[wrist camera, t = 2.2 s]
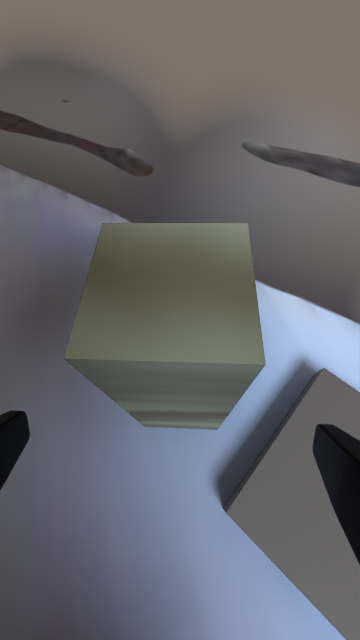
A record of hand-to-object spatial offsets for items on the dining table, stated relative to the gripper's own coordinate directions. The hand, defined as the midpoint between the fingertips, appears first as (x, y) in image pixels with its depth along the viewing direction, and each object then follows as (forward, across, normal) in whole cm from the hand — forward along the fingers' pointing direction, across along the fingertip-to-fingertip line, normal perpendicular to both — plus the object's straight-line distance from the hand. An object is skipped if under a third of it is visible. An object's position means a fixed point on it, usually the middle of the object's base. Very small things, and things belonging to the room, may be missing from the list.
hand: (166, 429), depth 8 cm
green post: (+10, 0, +5) cm, 11 cm away
